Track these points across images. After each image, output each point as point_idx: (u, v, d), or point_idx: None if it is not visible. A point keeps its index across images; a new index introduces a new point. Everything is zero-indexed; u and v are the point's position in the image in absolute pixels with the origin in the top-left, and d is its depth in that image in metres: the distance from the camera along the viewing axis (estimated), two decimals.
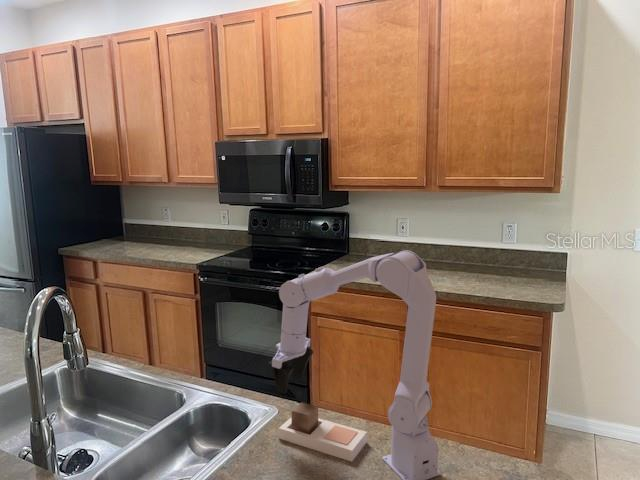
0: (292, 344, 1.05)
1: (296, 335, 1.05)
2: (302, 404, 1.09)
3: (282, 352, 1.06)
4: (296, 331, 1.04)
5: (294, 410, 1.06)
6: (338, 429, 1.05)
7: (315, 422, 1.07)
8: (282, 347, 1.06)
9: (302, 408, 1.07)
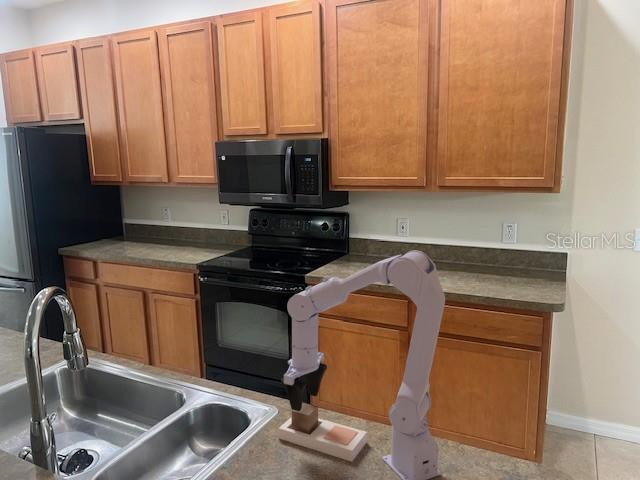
0: (304, 359, 1.02)
1: (307, 349, 1.02)
2: (302, 404, 1.09)
3: (294, 368, 1.03)
4: (308, 345, 1.02)
5: (294, 410, 1.06)
6: (338, 429, 1.05)
7: (315, 422, 1.07)
8: (294, 363, 1.03)
9: (302, 408, 1.07)
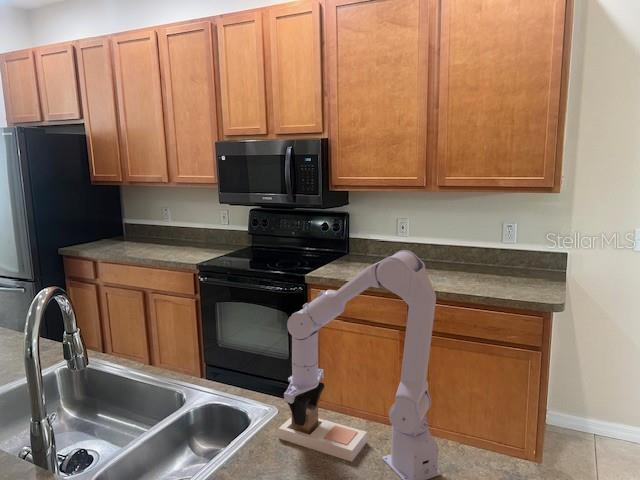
0: (304, 377, 1.03)
1: (307, 367, 1.02)
2: None
3: (294, 386, 1.04)
4: (308, 363, 1.02)
5: None
6: (338, 429, 1.05)
7: (315, 422, 1.07)
8: (294, 380, 1.04)
9: None
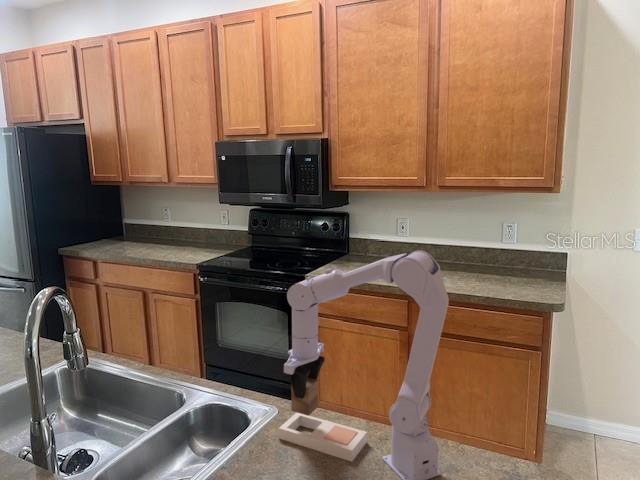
0: (304, 349, 1.02)
1: (307, 339, 1.01)
2: None
3: (294, 358, 1.03)
4: (308, 335, 1.01)
5: None
6: (338, 429, 1.05)
7: (315, 395, 1.06)
8: (294, 353, 1.03)
9: None
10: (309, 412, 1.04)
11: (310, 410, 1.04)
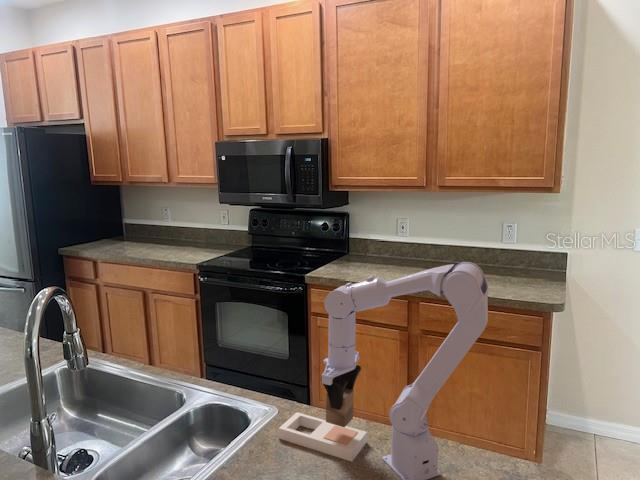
0: (342, 358, 0.97)
1: (345, 348, 0.97)
2: None
3: (331, 367, 0.99)
4: (346, 343, 0.97)
5: None
6: (338, 429, 1.05)
7: (350, 406, 1.02)
8: (331, 362, 0.99)
9: None
10: (345, 424, 1.00)
11: (345, 421, 1.00)
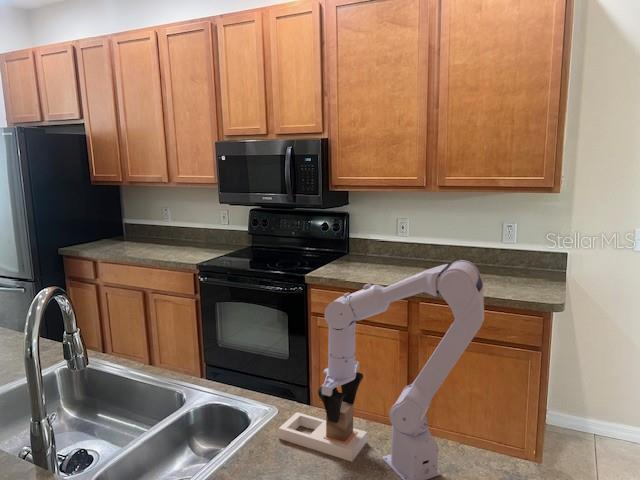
0: (342, 369, 0.98)
1: (345, 359, 0.98)
2: None
3: (331, 378, 0.99)
4: (346, 354, 0.98)
5: None
6: None
7: (350, 420, 1.03)
8: (331, 372, 0.99)
9: None
10: (345, 438, 1.01)
11: (346, 435, 1.01)
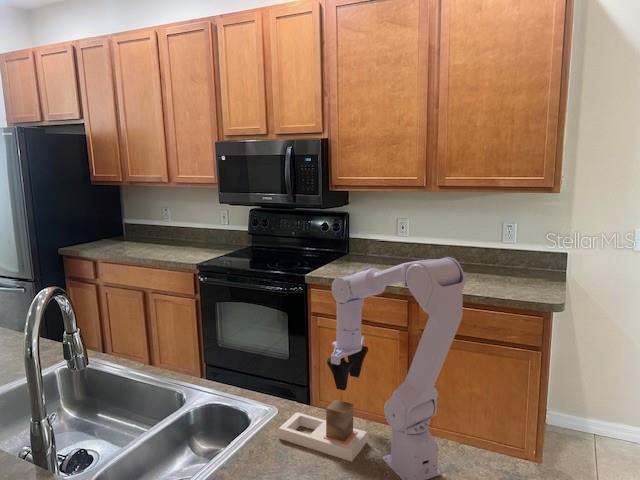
0: (349, 341, 1.06)
1: (352, 331, 1.06)
2: (336, 401, 1.04)
3: (339, 349, 1.07)
4: (347, 327, 1.06)
5: (329, 408, 1.01)
6: None
7: (350, 420, 1.03)
8: (339, 344, 1.08)
9: (337, 405, 1.02)
10: (345, 438, 1.01)
11: (346, 435, 1.01)
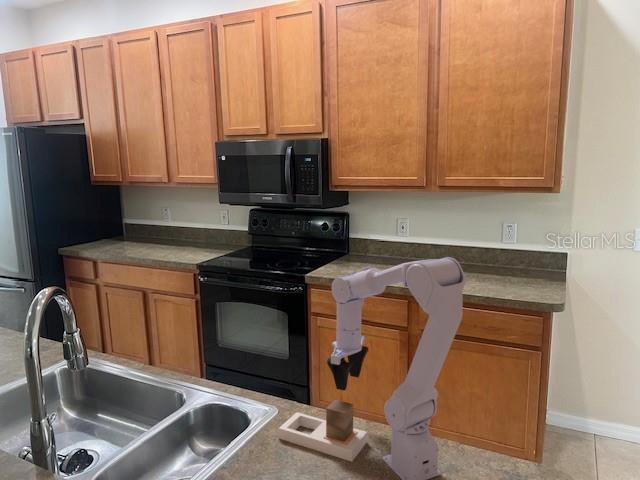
0: (349, 341, 1.06)
1: (352, 331, 1.06)
2: (336, 401, 1.04)
3: (339, 349, 1.07)
4: (347, 327, 1.06)
5: (329, 408, 1.01)
6: None
7: (350, 420, 1.03)
8: (339, 344, 1.08)
9: (337, 405, 1.02)
10: (345, 438, 1.01)
11: (346, 435, 1.01)
